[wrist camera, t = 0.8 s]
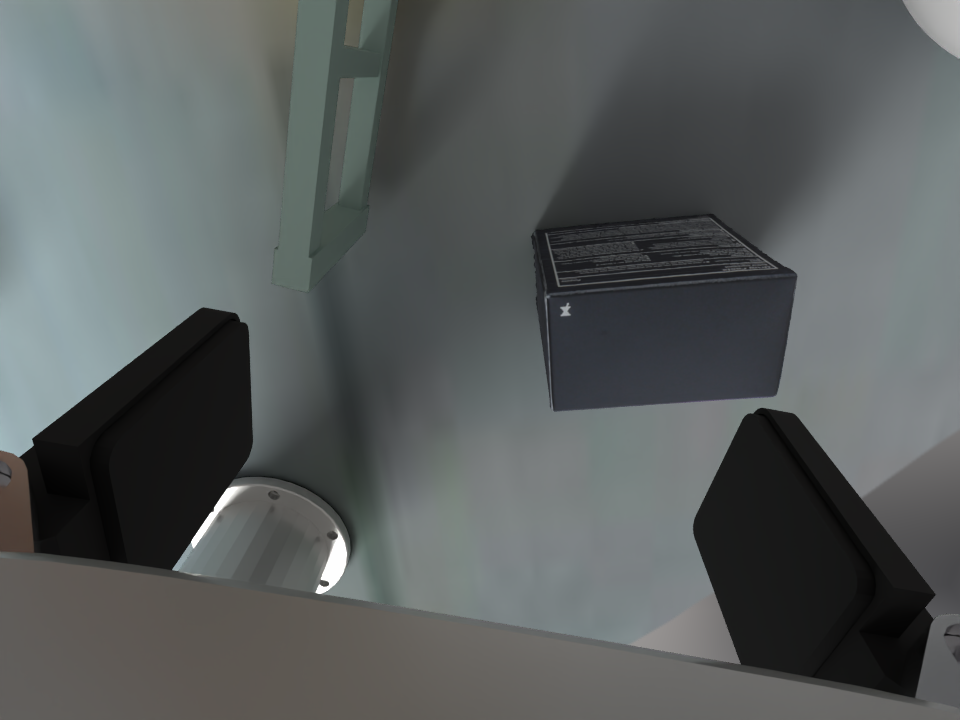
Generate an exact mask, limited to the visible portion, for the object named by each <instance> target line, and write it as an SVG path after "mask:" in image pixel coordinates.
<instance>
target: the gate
mask: <svg viewBox="0 0 960 720" xmlns="http://www.w3.org/2000/svg"><path fill="white" fill-rule="evenodd" d="M348 5H349V0H299V3H298V15H297V27H296V39H295V51H294V64H293V76H292V88H291V100H290V112H289V124H288V137H287V149H286V161H285V173H284V185H283V197H282V210H281V222H280V234H279V246H278V247H276V248H275V249H274V261H273V273H272V284H274V285H278V286H282V287H286V288H290V289H294V290H298V291H302V292H306V293H309V292H310V291H311V290H312V288H313V287H314V286H315V285H316V284H317V283H318V282H319V281H320V280H321V279H322V278H323V277H324V276H325V275H326V273H327V272H328V271H329V270H330V269H331V268H332V267H333V266H334V265H335V264H336V263H337V262H338V261H339V260H340V258H341V257H342V256H343V255H344V254H345V253H346V252H347V251H348V250H349V249H350V248H351V247H352V246H353V244H354V243H355V242H356V241H357V240H358V239H359V238H360V237H361V236H362V235H363V234H364V233H365V231H366V225H367V219H368V212H369V205H367V201H368V194H369V188H370V181H371V175H372V168H373V161H374V155H375V148H376V142H377V135H378V129H379V122H380V116H381V109H382V103H383V96H384V90H385V83H386V77H387V70H388V63H389V57H390V50H391V44H392V37H393V31H394V24H395V18H396V11H397V5H398V0H364V8H363V16H362V24H361V31H360V39H359V47H358V48H356V47H351V46H345V45H344V39H345V31H346V22H347V14H348ZM340 78H354V86H353V93H352V101H351V109H350V117H349V124H348V132H347V140H346V148H345V155H344V163H343V171H342V178H341V186H340V194H339V202H338V203H336V204H335V205H334V206H332V207H331V208H330V209H328V210H327V211H326V212H324V209H325V200H326V192H327V183H328V175H329V166H330V158H331V149H332V141H333V133H334V124H335V116H336V107H337V99H338V90H339V82H340Z"/></svg>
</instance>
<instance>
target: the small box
mask: <svg viewBox="0 0 960 720" xmlns="http://www.w3.org/2000/svg"><path fill="white" fill-rule="evenodd" d="M531 238H532V244H533V249H534V252H535V254H534V259H535V263H534V266H535V269H536V271H535V273H536V288H537V297H536V301H537V302H536V304H537V310H538V317H539V324H540V331H541V338H542V345H543V352H544V360H545V366H546V374H547V382H548V389H549V397H550V407H551V410H552V411H555V412H557V411H569V410H585V409H599V408H612V407H627V406H641V405H656V404H670V403H686V402H701V401H716V400H732V399H747V398H764V397H774V396H776V394H777V392H778V388H779V383H780V379H781V373H782V367H783V361H784V355H785V350H786V345H787V338H788V330H789V325H790V320H791V313H792V307H793V301H794V294H795V289H796V281H797V274H796V273H795V272H794V271H792V270H791V269H789V268H787V267H784V266H783V265H781V264H780V263H778V262H777V261H774V260H773V259H772V258H770V257H769V256H768V255H767V254H764V253H763V252H762V251H760V250H759V249H758V248H757V247H755V246H754V245H752V244H751V243H750V242H748V241H747V240H746V239H744V238H743V237H742V236H740V235H739V234H738V233H736V232H734V231H733V230H732V229H731V228H729V227H728V226H726V225H725V224H724V223H723V222H722V221H721V220H719V219H718V218H716V216H715V215H714V214H707V215H695V216H683V217H673V218H661V219H650V220H638V221H628V222H617V223H603V224H595V225H584V226H573V227H563V228H555V229H544V230H536V231H535V232H534V233H533V235H532V236H531Z"/></svg>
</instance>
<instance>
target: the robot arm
mask: <svg viewBox="0 0 960 720" xmlns="http://www.w3.org/2000/svg"><path fill="white" fill-rule="evenodd" d="M32 440H33V444H34V446H33V447H32V448H30V449H29V450H28V451H27V452H25V453H24V454H23V455H22V456H20V457H17V456H16V455H14V454H12V453H8V452H4V451H0V720H960V615H952V614H944V615H940V616H937V617H935V618H934V619H933V618H932V617H931V615H930V614H929V613H928V611H927V610H926V609H925V607H926V606H927V604H928V603H929V602H930V601H931V600H932V599H933V597H934V596H935V593H934V592H933V590H932V589H931V588H930V587H929V585H928V584H927V583H926V582H925V580H924V579H923V578H922V576H921V575H920V574H919V573H918V571H917V570H916V569H915V567H914V566H913V565H912V563H911V562H910V561H909V560H908V558H907V557H906V556H905V554H904V553H903V552H902V551H901V549H900V548H899V547H898V546H897V544H896V543H895V542H894V540H893V539H892V538H891V537H890V535H889V534H888V533H887V531H886V530H885V529H884V527H883V526H882V525H881V524H880V522H879V521H878V520H877V518H876V517H875V516H874V515H873V513H872V512H871V511H870V510H869V508H868V507H867V506H866V504H865V503H864V502H863V500H862V499H861V498H860V497H859V495H858V494H857V493H856V492H855V490H854V489H853V488H852V486H851V485H850V484H849V483H848V481H847V480H846V479H845V477H844V476H843V475H842V474H841V472H840V471H839V470H838V468H837V467H836V466H835V465H834V463H833V462H832V461H831V459H830V458H829V457H828V456H827V454H826V453H825V452H824V450H823V449H822V448H821V447H820V445H819V444H818V443H817V441H816V440H815V439H814V438H813V436H812V435H811V434H810V432H809V431H808V430H807V429H806V427H805V426H804V425H803V423H802V422H801V421H800V420H799V418H798V417H797V416H796V415H795V414H793V413H788V412H783V411H777V410H772V409H766V408H760V409H757V410H756V411H755V412H754V413H753V414H751V413H750V414H747V415H746V416H745V417H744V418H743V420H742V422H741V424H740V426H739V428H738V430H737V432H736V434H735V436H734V438H733V440H732V442H731V445H730V447H729V449H728V451H727V453H726V455H725V457H724V459H723V461H722V463H721V465H720V467H719V469H718V471H717V473H716V475H715V477H714V479H713V482H712V484H711V486H710V488H709V490H708V492H707V494H706V496H705V498H704V500H703V502H702V504H701V506H700V508H699V510H698V512H697V514H696V517H695V519H694V524H693V532H694V537H695V540H696V543H697V546H698V548H699V551H700V554H701V557H702V559H703V562H704V565H705V568H706V570H707V573H708V576H709V578H710V581H711V584H712V587H713V589H714V592H715V595H716V598H717V600H718V603H719V606H720V608H721V611H722V614H723V617H724V619H725V622H726V624H727V627H728V630H729V633H730V636H731V638H732V641H733V644H734V647H735V649H736V652H737V655H738V657H739V660H740V663H741V665H740V664H734V663H729V662H723V661H717V660H711V659H705V658H700V657H694V656H688V655H682V654H676V653H671V652H665V651H659V650H654V649H648V648H642V647H636V646H631V645H625V644H619V643H613V642H608V641H602V640H596V639H590V638H584V637H578V636H572V635H566V634H560V633H554V632H548V631H543V630H537V629H531V628H525V627H519V626H513V625H507V624H501V623H495V622H489V621H483V620H477V619H471V618H465V617H459V616H453V615H447V614H441V613H435V612H429V611H423V610H417V609H411V608H405V607H399V606H393V605H387V604H381V603H375V602H368V601H362V600H356V599H350V598H344V597H338V596H331V595H325V594H322V593H324V592H326V591H327V590H329V589H331V588H332V587H333V586H334V585H335V584H336V583H337V582H338V581H339V580H340V578H341V577H342V575H343V574H344V572H345V569H346V567H347V564H348V561H349V557H350V552H351V547H350V538H349V535H348V532H347V529H346V527H345V525H344V523H343V522H342V520H341V518H340V517H339V515H338V514H337V513H336V512H335V511H334V510H333V508H332V507H331V506H330V505H328V504H327V503H326V502H325V501H324V500H322V499H321V498H320V497H318V496H317V495H315V494H313V493H312V492H310V491H308V490H307V489H305V488H302V487H300V486H298V485H295V484H293V483H290V482H286V481H283V480H279V479H275V478H266V477H243V478H239V479H234V478H235V477H236V475H237V474H238V472H239V471H240V469H241V468H242V467H243V465H244V464H245V462H246V461H247V459H248V457H249V455H250V452H251V449H252V444H253V430H252V404H251V377H250V351H249V330H248V326H247V324H246V323H243V322H240V319H239V317H238V315H237V314H236V313H232V312H226V311H221V310H215V309H209V308H201V309H199V310H198V311H196V312H195V313H194V314H193V315H191V316H190V317H189V318H187V319H186V320H185V321H183V322H182V323H181V324H180V325H178V326H177V327H176V328H174V329H173V330H172V331H171V332H169V333H168V334H167V335H165V336H164V337H163V338H162V339H160V340H159V341H158V342H156V343H155V344H154V345H153V346H151V347H150V348H149V349H147V350H146V351H145V352H143V353H142V354H141V355H140V356H138V357H137V358H136V359H134V360H133V361H132V362H131V363H129V364H128V365H127V366H125V367H124V368H123V369H122V370H120V371H119V372H118V373H116V374H115V375H114V376H113V377H111V378H110V379H109V380H107V381H106V382H105V383H103V384H102V385H101V386H100V387H98V388H97V389H96V390H94V391H93V392H92V393H91V394H89V395H88V396H87V397H85V398H84V399H83V400H82V401H80V402H79V403H78V404H76V405H75V406H74V407H73V408H71V409H70V410H69V411H67V412H66V413H65V414H63V415H62V416H61V417H60V418H58V419H57V420H56V421H54V422H53V423H52V424H51V425H49V426H48V427H47V428H45V429H44V430H43V431H42V432H40V433H39V434H38V435H36V436H35V437H34V438H33V439H32ZM191 542H192V546H193V548H194V549H193V550H192V552H191V553H190V555H189V556H188V557H187V559H186V560H185V562H184V563H183V565H182V566H181V568H180V569H179V571H173V570H172V569H173V567H174V566H175V564H176V563H177V562H178V560H179V559H180V557H181V556H182V554H183V553H184V551H185V550H186V548H187V547H188V545H189V544H190V543H191Z"/></svg>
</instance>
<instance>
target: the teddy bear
mask: <svg viewBox="0 0 960 720" xmlns="http://www.w3.org/2000/svg"><path fill="white" fill-rule="evenodd" d="M902 1H903V3H904V5H905V6H906V8H907V10H908V11H909V13H910V14H911V16H912V17H913V19H914V20H915V21H916V23H917V24H918V25H919V26H920V27H921V29H922V30H923V31H924V32H925V33H926V34H927V35H928V36H929V37H930V38H931V39H932V40H934V41H935V42H936V43H937V44H938V45H939V46H941V47H942V48H943V49H945V50H946V51H948V52H949V53H951V54H952V55H954V56H955V57H957V58H959V59H960V0H902Z"/></svg>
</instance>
